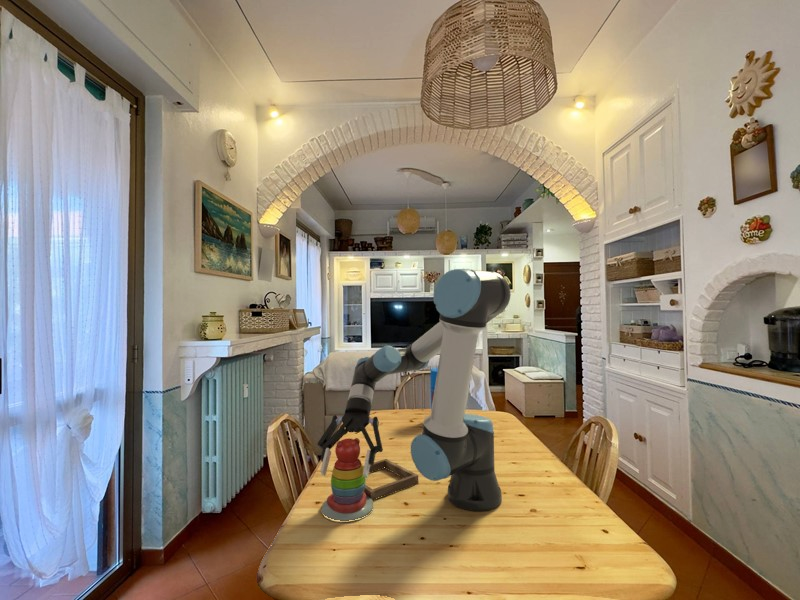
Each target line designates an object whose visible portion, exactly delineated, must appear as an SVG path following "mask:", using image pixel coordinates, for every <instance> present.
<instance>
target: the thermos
mask: <svg viewBox="0 0 800 600" xmlns="http://www.w3.org/2000/svg"><path fill="white" fill-rule="evenodd" d="M437 371H438V368H432V369H430V375H429V376H430V410H431V409H432V403H433V396H434V390H435V384H436V377H437Z"/></svg>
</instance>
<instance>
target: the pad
mask: <svg viewBox="0 0 800 600" xmlns="http://www.w3.org/2000/svg"><path fill="white" fill-rule="evenodd" d="M366 499H367V501H366V504H365V506H364V507H363V508H362V509H361V510H359V511H356V512H353V513H339V512H336V511H334V510H332V509H331V508H330V507H329V506H328V504H327V499H326V500H325V501H324V502H323V503H322V504H321V514H322V513H323V514H324V515H325V516H327V517H328V518H331V519H334V520H340V521H349V520H355V519H358V518H362V517H364V516H366V515H368V514H369V513H370V512H371V511H372V512H373V510H374V500H372V499H371V498H370V497H369V496H367V495H366ZM372 509H373V510H372ZM372 512H371V513H372ZM371 513H370V514H371ZM370 514H369V515H370ZM369 515H368V516H369Z"/></svg>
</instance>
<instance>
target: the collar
mask: <svg viewBox="0 0 800 600" xmlns="http://www.w3.org/2000/svg"><path fill="white" fill-rule="evenodd" d="M364 466H365V464H364V465H363V468H364ZM384 467H385V468H384ZM382 468H384V469H386V468H387V469H386V470H388V469H389V470H388V471H390V470H391V471H393V472H394V474H395V473H396V474H395V475H397V474H398V475H397V476H399V475H400V476H399V477H401V476H402V477H401V479H397V480H395V481H392V482H390V483H386V484H384V485H380V486H379V487H376V488H371V487H370V486H368V485H367V484H365V489H364V492H365V494H366V495H367V496H369V497H370V498H371V499H372V500H373V501H375V500H374V499H376V498H378V497H381V496H384V495H386V496H388V495H387V494H389V495H391V494H390V493H392V494H393V492H394V493H396V492H395V491H397V492H399V491H398V490H400V491H401V489H402V490H405V489H407V488H410V487H412V485H413V486H415V485H419V474H417V473H414V472H413V471H411V470H408V469H407V468H404V467H403V466H401V465H398V463H395V462H393V461H391V460H389V459H387V458H385V459H380V460H378V461H374V464H373V465H370V469H369V472H372V471H375V470H378V469H381V470H383V469H382ZM378 471H379V470H378ZM391 471H390V472H391ZM375 472H376V471H375ZM393 472H392V473H393ZM372 473H373V472H372ZM409 486H410V487H409ZM406 487H407V488H406ZM404 488H405V489H404ZM384 497H385V496H384ZM381 498H382V497H381ZM378 499H379V498H378ZM376 500H377V499H376Z"/></svg>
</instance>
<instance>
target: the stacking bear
mask: <svg viewBox="0 0 800 600" xmlns="http://www.w3.org/2000/svg"><path fill="white" fill-rule="evenodd" d="M360 441H361V440H360V439H359V438H357V437H355V438H354V439H353V438H344V439H340V440H339V441H338V442H337V443H336V446H335V451H334V452H335V453H334V454H335V455H336V459H337V460H336V461H335V462H334V464H333V465H334V466H333V468H332V473H331V477H330V479H331V480H330V487H331V492H332V493H331V494H330V495H329V496H328V497H327V499H326V500H327V504H328V506H329V507H330V508H331V509H332V510H334V511H336V512H339V513H353V512H356V511H359V510H361V509H362V508H363V507H364V506H365V504H366V501H367V499H366V494H365V492H364V489H365V485H366V480H367V478H365V477H364V475H363V471H364V468H363V466H364V465H363V463H362V461H361V459H359V456H360V454H361V446H360Z"/></svg>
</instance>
